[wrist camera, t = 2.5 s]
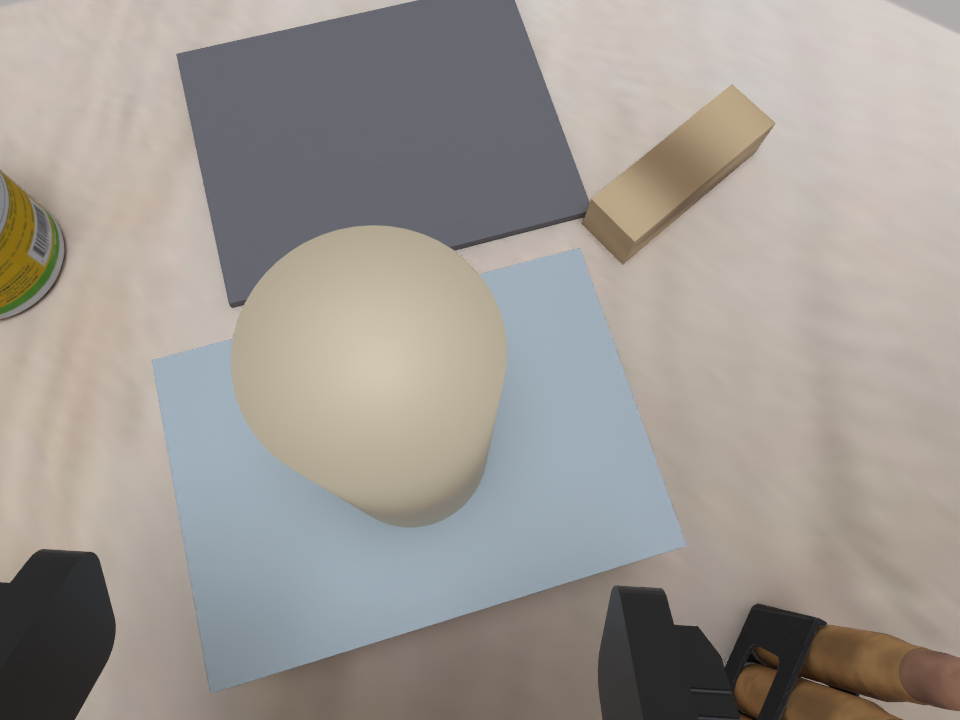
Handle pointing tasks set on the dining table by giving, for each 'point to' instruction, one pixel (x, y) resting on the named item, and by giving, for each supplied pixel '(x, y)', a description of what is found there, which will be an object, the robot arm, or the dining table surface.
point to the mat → (377, 132)
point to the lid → (400, 449)
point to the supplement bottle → (26, 249)
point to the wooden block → (676, 173)
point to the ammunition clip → (831, 670)
